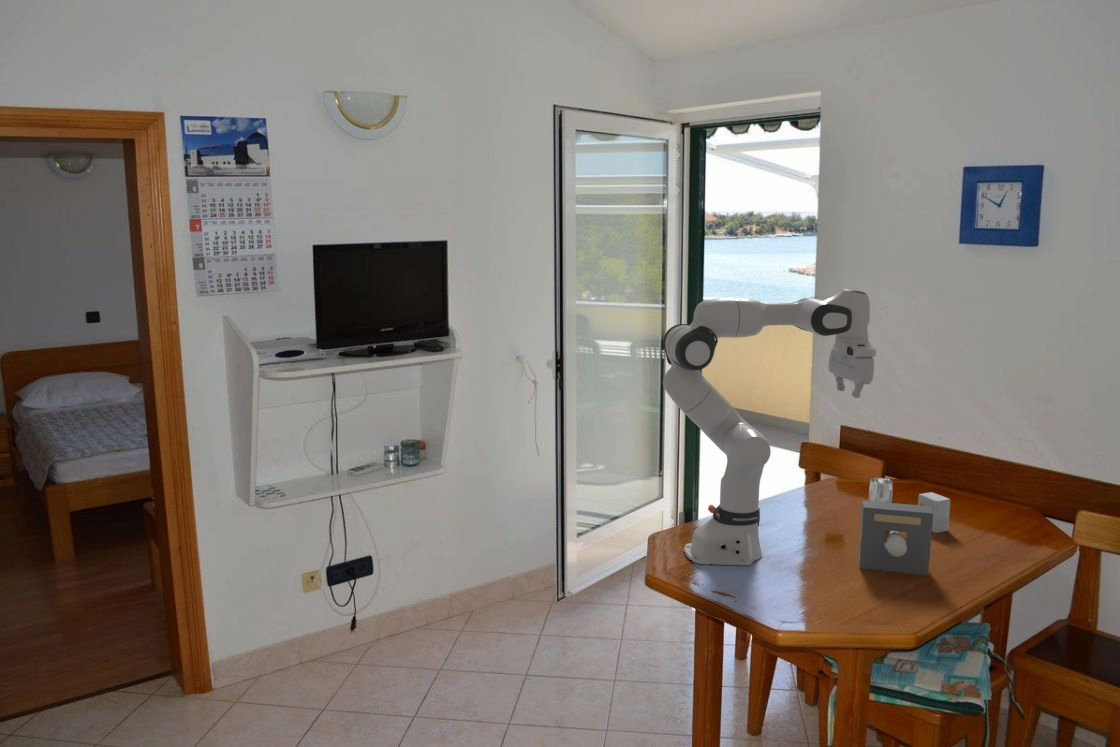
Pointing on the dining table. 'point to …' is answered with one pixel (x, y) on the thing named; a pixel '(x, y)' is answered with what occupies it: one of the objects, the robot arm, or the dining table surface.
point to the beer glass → (880, 490)
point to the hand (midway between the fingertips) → (848, 393)
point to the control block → (898, 519)
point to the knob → (896, 544)
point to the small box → (937, 510)
